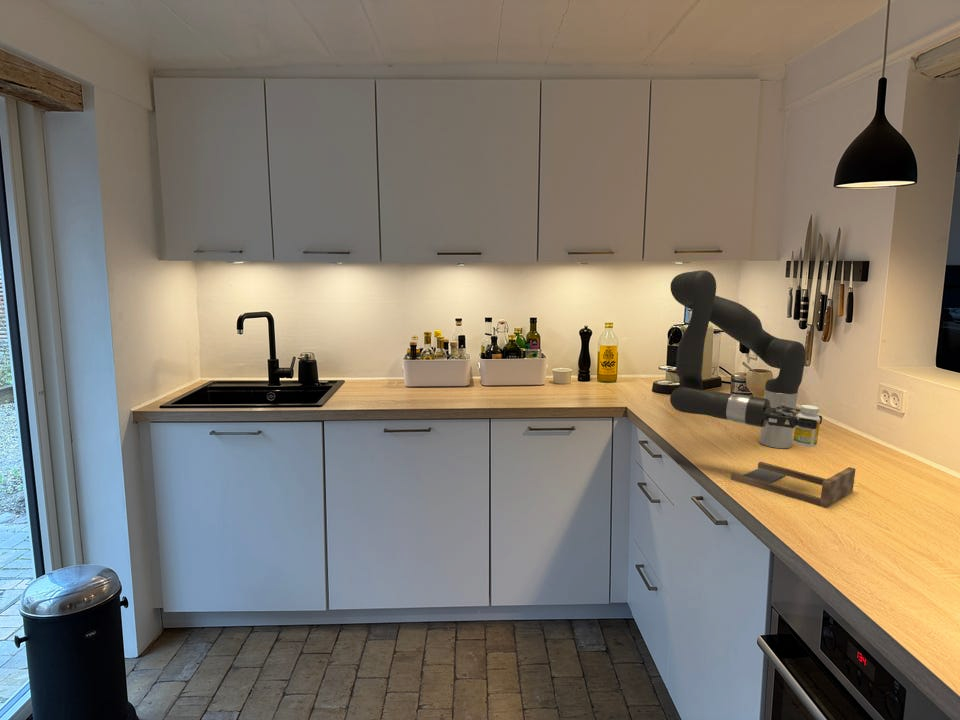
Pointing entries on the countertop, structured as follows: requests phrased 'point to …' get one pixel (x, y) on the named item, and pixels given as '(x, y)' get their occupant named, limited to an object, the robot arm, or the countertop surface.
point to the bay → (831, 487)
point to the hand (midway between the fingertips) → (819, 422)
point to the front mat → (765, 475)
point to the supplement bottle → (806, 434)
